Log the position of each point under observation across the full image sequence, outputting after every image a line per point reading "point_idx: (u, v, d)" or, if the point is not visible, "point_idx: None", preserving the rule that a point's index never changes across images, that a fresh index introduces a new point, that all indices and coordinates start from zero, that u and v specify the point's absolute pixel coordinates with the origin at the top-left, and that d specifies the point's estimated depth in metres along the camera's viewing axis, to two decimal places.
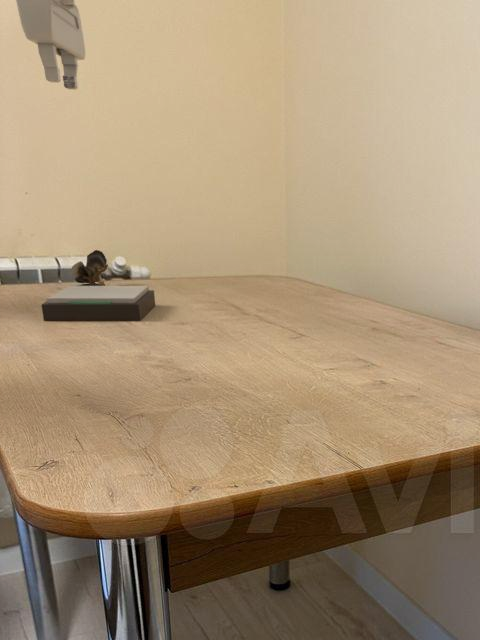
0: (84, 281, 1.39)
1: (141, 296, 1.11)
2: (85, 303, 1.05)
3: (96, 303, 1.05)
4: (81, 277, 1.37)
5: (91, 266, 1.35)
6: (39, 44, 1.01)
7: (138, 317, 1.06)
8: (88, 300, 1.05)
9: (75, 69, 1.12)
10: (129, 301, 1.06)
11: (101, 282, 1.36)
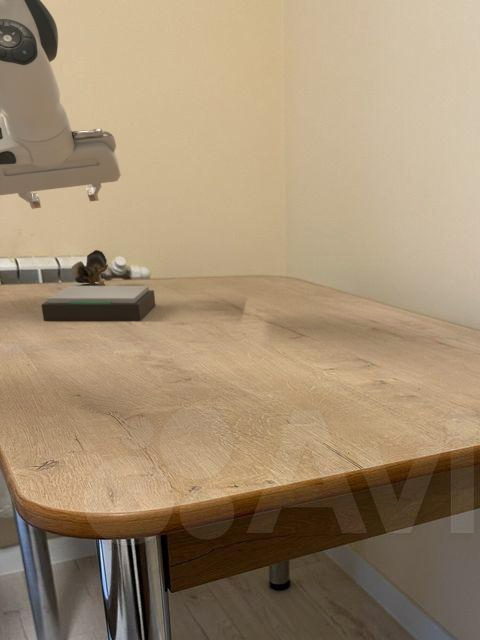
0: (84, 281, 1.39)
1: (141, 296, 1.11)
2: (85, 303, 1.05)
3: (96, 303, 1.05)
4: (81, 277, 1.37)
5: (91, 266, 1.35)
6: None
7: (138, 317, 1.06)
8: (88, 300, 1.05)
9: (95, 189, 1.19)
10: (129, 301, 1.06)
11: (101, 282, 1.36)
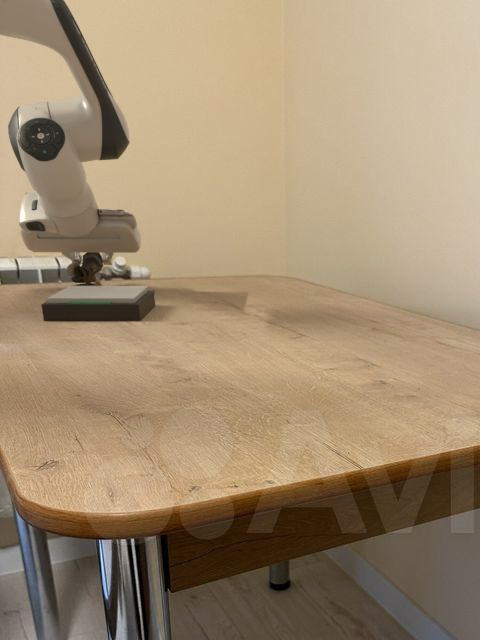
0: (81, 281, 1.39)
1: (141, 296, 1.11)
2: (85, 303, 1.05)
3: (96, 303, 1.05)
4: (77, 277, 1.37)
5: (87, 266, 1.35)
6: None
7: (138, 317, 1.06)
8: (88, 300, 1.05)
9: (108, 256, 1.33)
10: (129, 301, 1.06)
11: (97, 282, 1.36)
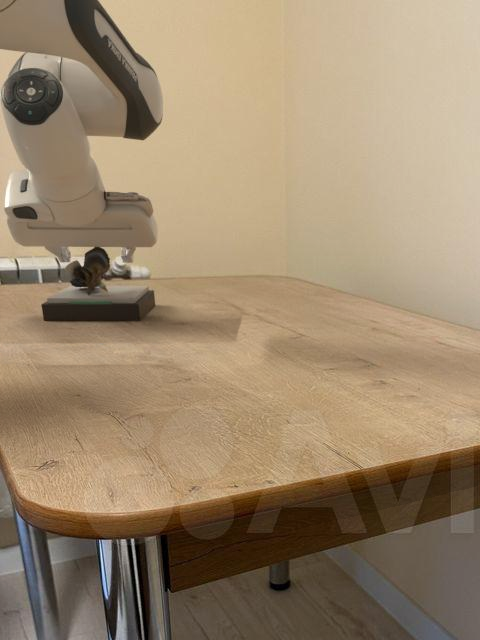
0: (82, 285, 1.13)
1: (141, 296, 1.11)
2: (85, 303, 1.05)
3: (96, 303, 1.05)
4: (78, 280, 1.11)
5: (90, 267, 1.09)
6: None
7: (138, 317, 1.06)
8: (88, 300, 1.05)
9: (129, 251, 1.07)
10: (129, 301, 1.06)
11: (102, 286, 1.10)
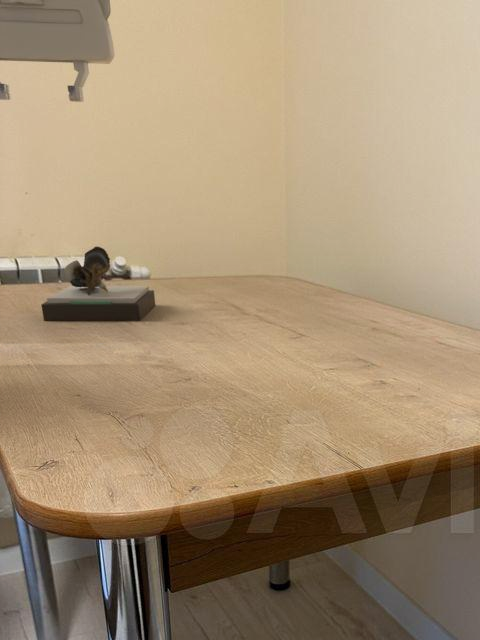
0: (82, 285, 1.13)
1: (141, 296, 1.11)
2: (85, 303, 1.05)
3: (96, 303, 1.05)
4: (78, 280, 1.11)
5: (90, 267, 1.09)
6: None
7: (138, 317, 1.06)
8: (88, 300, 1.05)
9: (77, 76, 0.92)
10: (129, 301, 1.06)
11: (102, 286, 1.10)
